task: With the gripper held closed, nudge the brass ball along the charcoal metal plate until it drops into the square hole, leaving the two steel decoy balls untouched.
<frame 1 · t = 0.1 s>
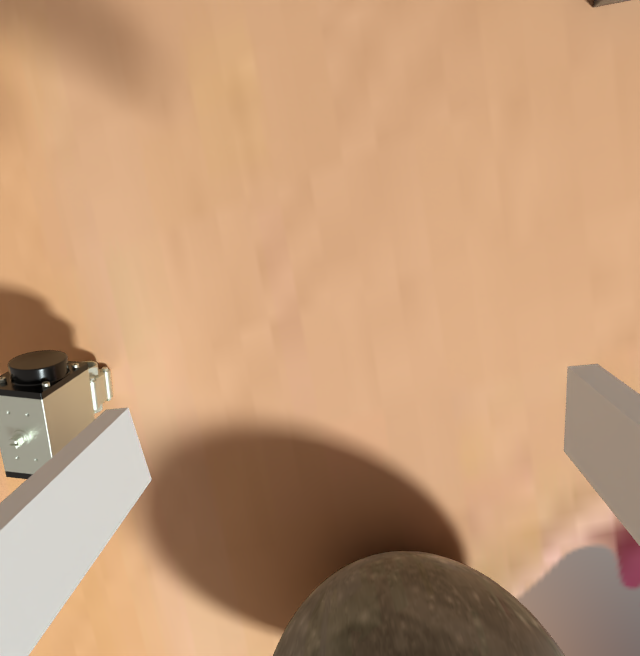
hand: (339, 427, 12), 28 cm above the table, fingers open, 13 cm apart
mottled grey sphere: (402, 586, 51), on the table
pneumatic valve: (95, 379, 45), on the table
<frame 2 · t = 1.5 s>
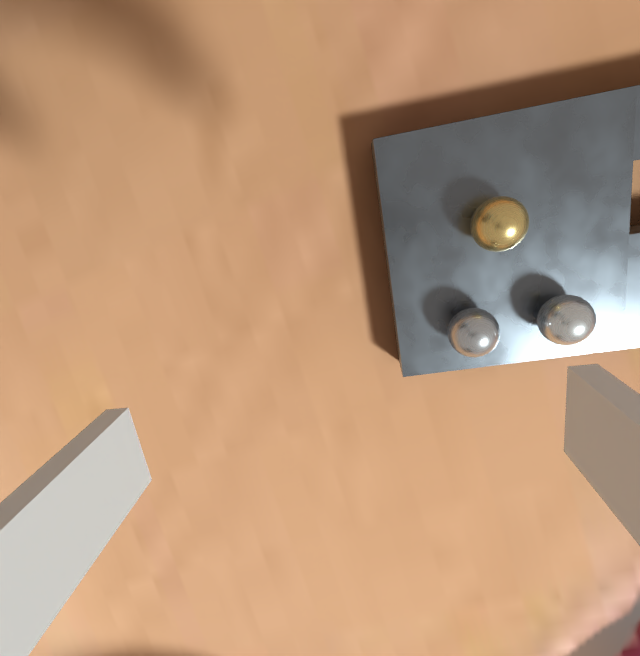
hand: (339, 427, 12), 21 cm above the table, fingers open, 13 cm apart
steel decoy b: (565, 320, 27), point 5 cm above the table, touching hole plate
hole plate: (549, 234, 30), on the table
brass ball: (498, 224, 26), point 5 cm above the table, touching hole plate
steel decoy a: (473, 332, 28), point 5 cm above the table, touching hole plate
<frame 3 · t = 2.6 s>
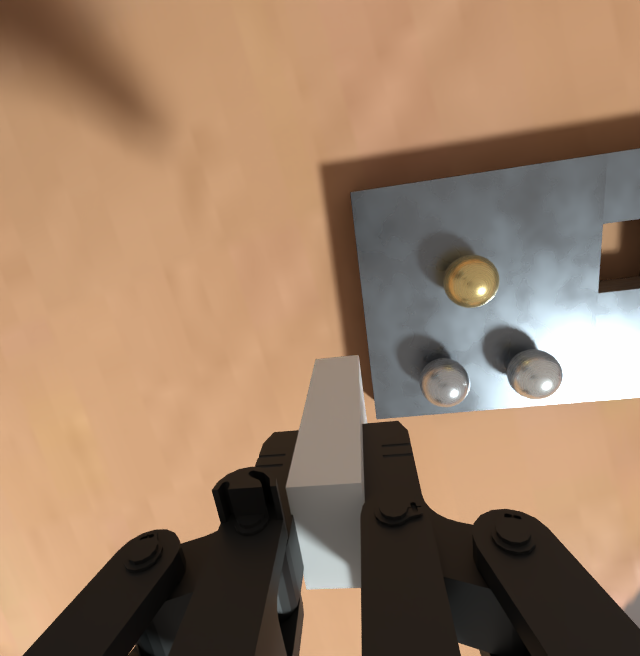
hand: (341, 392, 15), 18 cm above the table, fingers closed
steel decoy b: (534, 374, 28), point 5 cm above the table, touching hole plate
hole plate: (523, 285, 31), on the table
brass ball: (470, 281, 26), point 5 cm above the table, touching hole plate
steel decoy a: (444, 382, 29), point 5 cm above the table, touching hole plate
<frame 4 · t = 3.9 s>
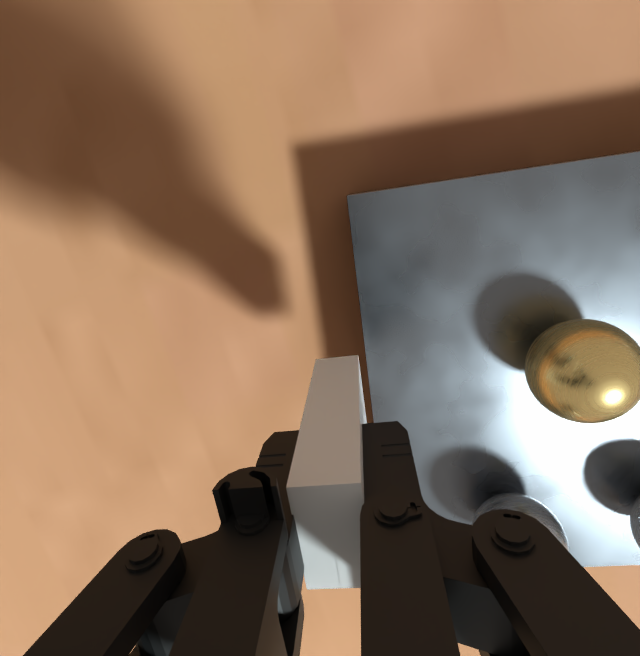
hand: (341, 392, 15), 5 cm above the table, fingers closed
brass ball: (582, 370, 13), point 5 cm above the table, touching hole plate
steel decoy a: (517, 540, 16), point 5 cm above the table, touching hole plate
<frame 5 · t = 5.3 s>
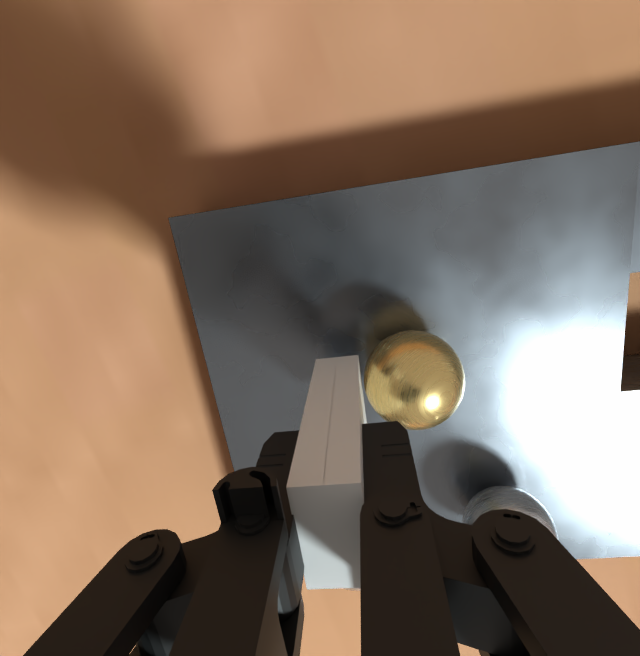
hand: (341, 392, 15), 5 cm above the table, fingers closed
steel decoy b: (508, 532, 16), point 5 cm above the table, touching hole plate
hole plate: (493, 363, 19), on the table
brass ball: (413, 379, 14), point 5 cm above the table, tilted 28°, touching hole plate
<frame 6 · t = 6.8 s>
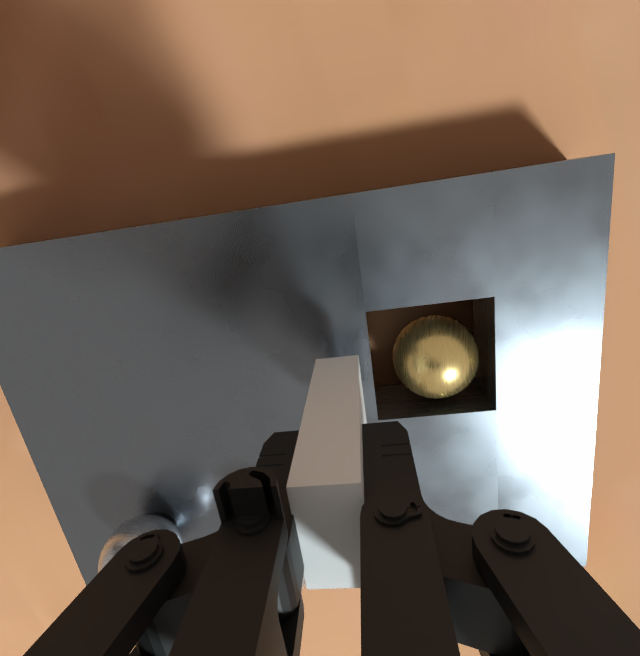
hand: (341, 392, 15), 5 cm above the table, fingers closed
hole plate: (297, 388, 20), on the table
brass ball: (434, 356, 17), point 2 cm above the table, tilted 74°
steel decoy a: (142, 557, 18), point 5 cm above the table, touching hole plate
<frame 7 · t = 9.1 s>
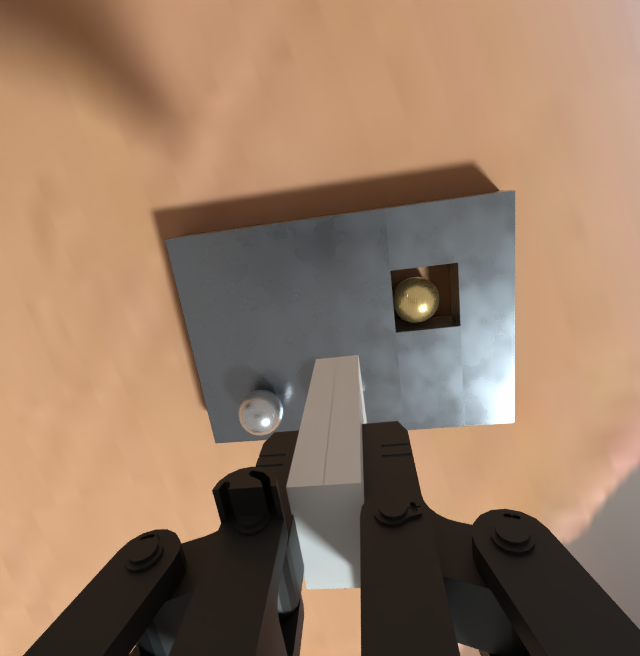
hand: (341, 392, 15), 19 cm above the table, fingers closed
hole plate: (346, 321, 33), on the table
brass ball: (415, 299, 30), point 2 cm above the table, tilted 44°
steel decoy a: (260, 412, 31), point 5 cm above the table, touching hole plate
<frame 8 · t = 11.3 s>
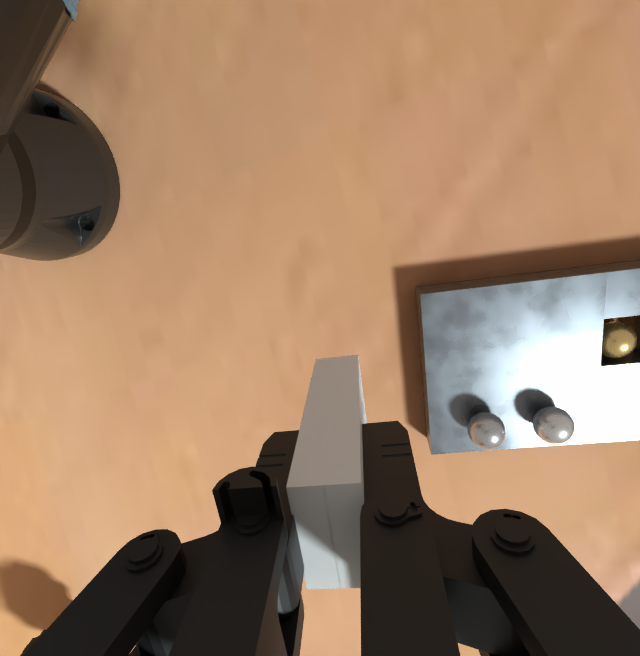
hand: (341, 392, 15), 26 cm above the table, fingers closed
steel decoy b: (553, 425, 38), point 5 cm above the table, touching hole plate
hole plate: (543, 355, 41), on the table
brass ball: (613, 339, 38), point 2 cm above the table, tilted 45°
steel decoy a: (486, 430, 39), point 5 cm above the table, touching hole plate
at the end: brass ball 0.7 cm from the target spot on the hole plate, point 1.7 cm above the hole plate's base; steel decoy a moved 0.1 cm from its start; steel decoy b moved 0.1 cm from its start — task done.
